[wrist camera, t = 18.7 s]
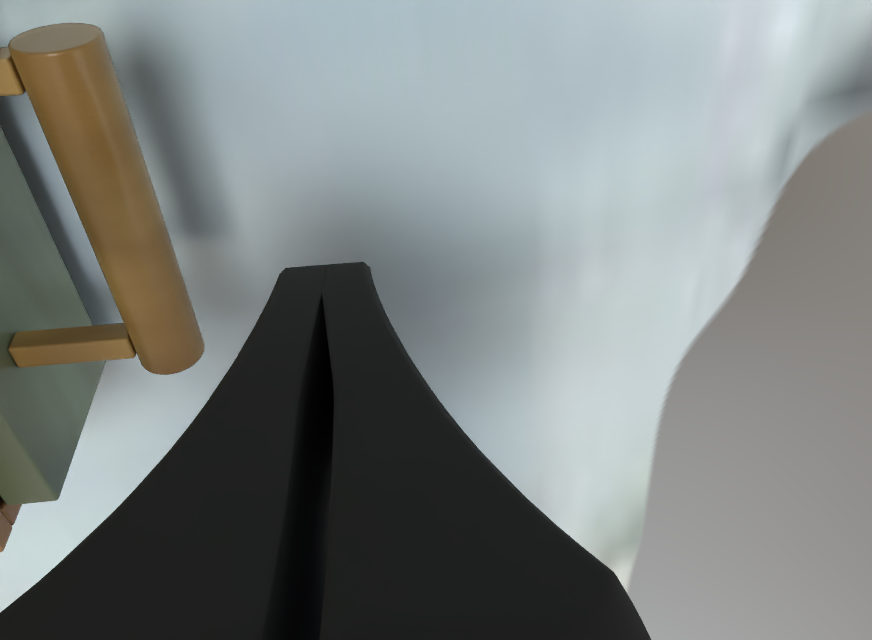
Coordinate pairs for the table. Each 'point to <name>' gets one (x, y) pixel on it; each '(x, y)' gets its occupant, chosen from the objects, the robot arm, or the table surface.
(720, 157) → the table surface
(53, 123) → the drawer
